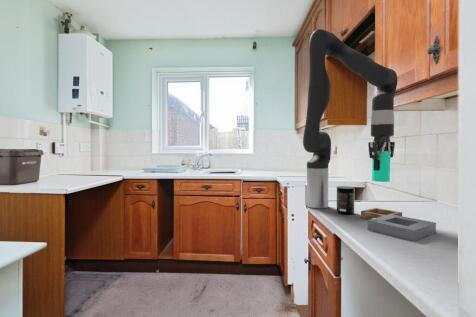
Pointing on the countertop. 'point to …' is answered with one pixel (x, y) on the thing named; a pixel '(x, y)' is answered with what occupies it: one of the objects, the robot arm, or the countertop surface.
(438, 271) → the countertop surface
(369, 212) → the holder ring
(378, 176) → the candle
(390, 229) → the frame
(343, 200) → the supplement container
